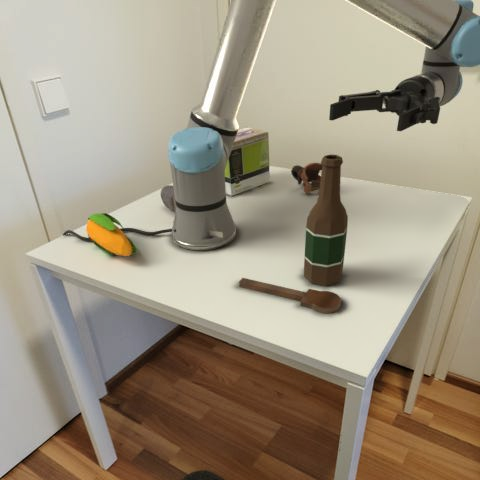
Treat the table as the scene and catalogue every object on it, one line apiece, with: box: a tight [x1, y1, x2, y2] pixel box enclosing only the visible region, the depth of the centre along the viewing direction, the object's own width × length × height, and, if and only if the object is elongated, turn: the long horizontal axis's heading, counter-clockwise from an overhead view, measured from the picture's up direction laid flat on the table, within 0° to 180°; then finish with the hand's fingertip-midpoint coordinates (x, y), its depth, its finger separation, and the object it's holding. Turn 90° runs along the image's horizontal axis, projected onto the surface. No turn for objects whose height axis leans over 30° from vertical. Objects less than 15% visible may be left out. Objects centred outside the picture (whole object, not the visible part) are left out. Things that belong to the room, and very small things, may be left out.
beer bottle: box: [303, 154, 349, 287], centre depth 84 cm, size 8×8×24 cm
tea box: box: [225, 126, 271, 197], centre depth 130 cm, size 15×10×15 cm, turn 130°
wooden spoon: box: [238, 277, 342, 314], centre depth 86 cm, size 20×6×1 cm, turn 63°
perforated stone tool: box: [160, 184, 176, 214], centre depth 119 cm, size 15×5×7 cm, turn 38°
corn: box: [85, 212, 138, 257], centre depth 103 cm, size 7×8×20 cm
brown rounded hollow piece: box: [290, 162, 322, 195], centre depth 129 cm, size 12×10×8 cm
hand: (364, 117), depth 80 cm, fingers open, 13 cm apart
